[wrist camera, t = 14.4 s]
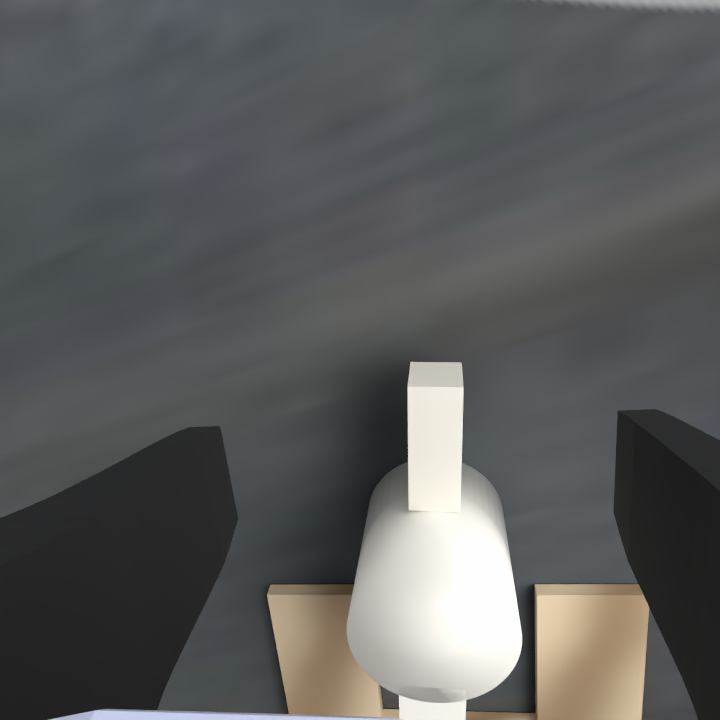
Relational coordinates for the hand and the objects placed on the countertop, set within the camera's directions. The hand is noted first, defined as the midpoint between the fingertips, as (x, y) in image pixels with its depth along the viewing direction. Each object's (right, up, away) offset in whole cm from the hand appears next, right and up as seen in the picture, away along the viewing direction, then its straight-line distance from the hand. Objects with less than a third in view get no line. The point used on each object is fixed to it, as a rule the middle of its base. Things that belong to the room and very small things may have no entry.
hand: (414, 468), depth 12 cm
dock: (+3, -12, +15) cm, 19 cm away
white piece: (+2, -2, +12) cm, 12 cm away
